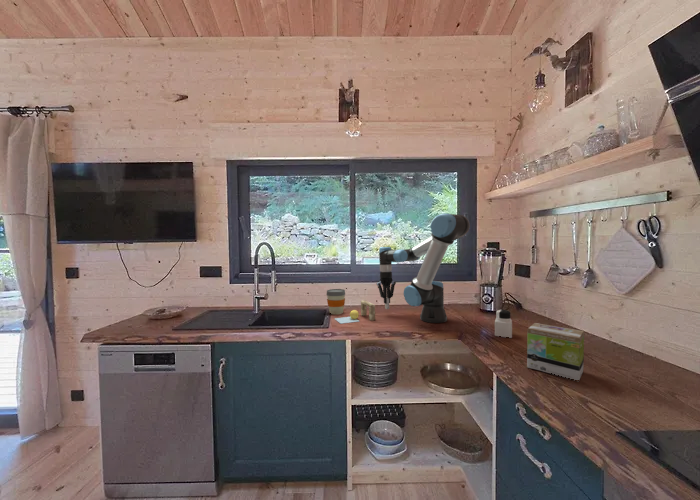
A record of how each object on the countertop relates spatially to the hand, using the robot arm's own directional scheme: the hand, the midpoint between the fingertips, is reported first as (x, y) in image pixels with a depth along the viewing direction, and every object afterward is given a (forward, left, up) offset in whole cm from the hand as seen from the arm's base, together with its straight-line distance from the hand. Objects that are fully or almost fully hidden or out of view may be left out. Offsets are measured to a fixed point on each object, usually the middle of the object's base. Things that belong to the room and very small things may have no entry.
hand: (387, 308), depth 181 cm
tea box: (-92, -17, -5) cm, 94 cm away
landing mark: (+1, +27, -4) cm, 28 cm away
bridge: (+1, +13, -4) cm, 14 cm away
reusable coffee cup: (+21, +27, -5) cm, 34 cm away
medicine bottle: (-57, -33, -5) cm, 66 cm away
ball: (+1, +22, -2) cm, 22 cm away
